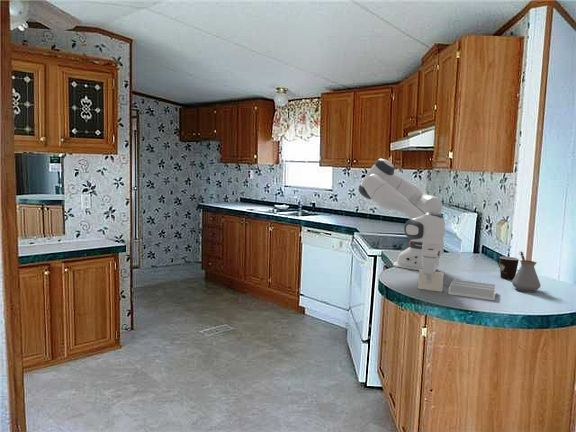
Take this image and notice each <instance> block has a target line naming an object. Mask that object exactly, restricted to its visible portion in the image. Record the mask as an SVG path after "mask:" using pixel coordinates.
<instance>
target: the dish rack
mask: <svg viewBox="0 0 576 432" xmlns="http://www.w3.org/2000/svg"><path fill="white" fill-rule="evenodd" d="M496 294H497V287H496V284H495V283H490V282H489V283H487V282H481V281H480V282H479V281H472V280H463V279H455V278H453V279H452V281H451V283H450V285H449V287H448V292H447V295H451V296H452V295H453V296H460V297H461V296H462V297H468V298H476V299H481V300H488V301H495V300H496Z"/></svg>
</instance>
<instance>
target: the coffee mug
mask: <svg viewBox="0 0 576 432" xmlns="http://www.w3.org/2000/svg"><path fill="white" fill-rule="evenodd" d="M496 262H497V265H498V267H499V273H500V276H499V277H500V279H504V280H511V281H513V279H514V277H515V275H516V274H517V272H518V265H519V262H520V259H519V258H517V257H512V256H499V258H498V259H497V261H496Z"/></svg>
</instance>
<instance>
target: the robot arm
mask: <svg viewBox="0 0 576 432" xmlns="http://www.w3.org/2000/svg"><path fill="white" fill-rule="evenodd" d="M395 169H396V168H395V166H394V164H393V163H392V162H391V161H390V160H388V159H385V158H379V159H377V160H376V161H375V163H374V164H373V166H372V167H370V168H369V170H368V171H367V172H366V173H367V174H365V177H364V178H363V180H362V182H360V183H359V187H358V192H359V193H360V194H359V195H361V196H362V197H363V198H365V199H368V200H372V201H373V202H374V203H375V205H377V206H379V207H380V208H381V209H383V210H388V211H394V212H399V213H401V214H403V215H405V216H407V217H408V218H409V219H408V220H406V222H405V223H404V226H403V227H404V228H403V232H404V235H405V236H406V238H408V239H409V243H408V244H409V245H408V247H407V248H406V249H404V250H402V251H401V252H400V253H399V254H398V256H397V261H394V262H392V266H393V267H395V268H402V269H403V268H404V269H407V270H415V271H419V270H423V272H424V274H425V275H426V278H427V284H431V281H432V279H431V278H432V274H433V273H434V272H437V270H438V268H439V267H440V265H439V264H440V259H441V256H443V255H444V246H445V242H444V237H445V232H446V231H445V230H446V229H445V228H446V221H445V217H444V215H443V214H441V212H442V210H443V208H444V207H443V203H442V202H443V201H441V200H440V199H439V198H438V197H437V196H435V195H430V194H427V193H425V192H424V191H422V190H421V189H420V188H418V187H417V186H416V185H415V184H414V183H412V182H410V181H409V180H407V179H406V178H404V177H403V176H400V175H398V174H397V173H395Z"/></svg>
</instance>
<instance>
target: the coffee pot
mask: <svg viewBox="0 0 576 432" xmlns="http://www.w3.org/2000/svg"><path fill="white" fill-rule="evenodd" d="M518 255H519V256H520V258H521V260H519V262H520V267H519V269H517V271H516V275H515V277H514V279H513V280H511V283H512V286H513V287H514V288H515V290H517V291H521V292H525V293H526V292H527V293H535V292H536V291H537V290H539V289H541V286H542V285H541V283H540V280H539V277H538V274H537V271H536V268H535V266H536V264H537V261H533V260H527V259H525V255H524V252H523V251H521V250H520V251H519V252H518Z"/></svg>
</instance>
